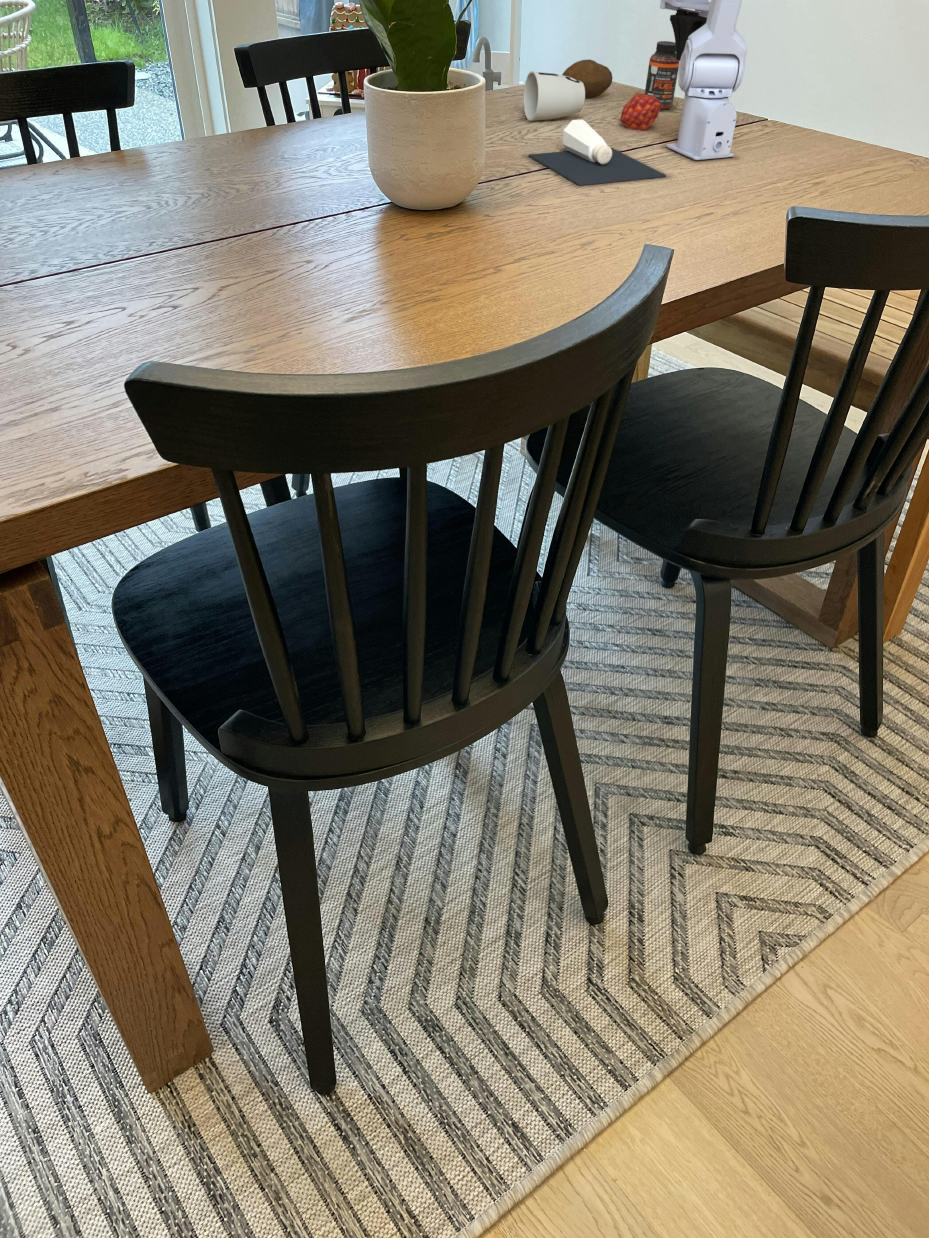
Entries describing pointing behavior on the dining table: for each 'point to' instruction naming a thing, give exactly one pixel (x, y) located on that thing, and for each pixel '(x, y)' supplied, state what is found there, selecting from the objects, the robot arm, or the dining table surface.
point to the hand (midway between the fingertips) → (682, 60)
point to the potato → (590, 76)
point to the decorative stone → (640, 111)
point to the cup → (552, 96)
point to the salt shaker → (585, 142)
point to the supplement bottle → (663, 74)
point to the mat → (596, 168)
